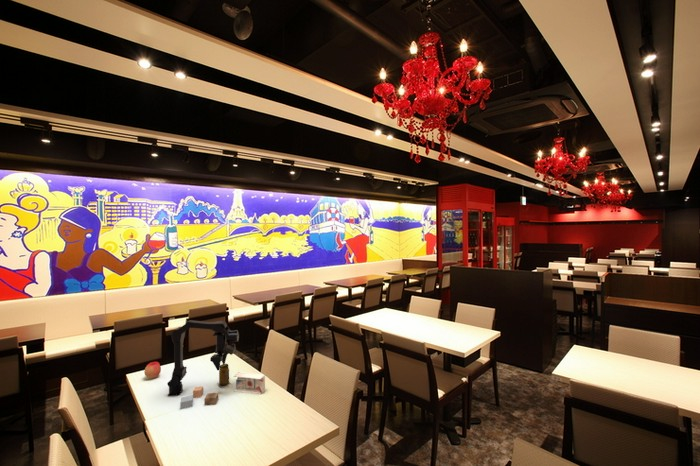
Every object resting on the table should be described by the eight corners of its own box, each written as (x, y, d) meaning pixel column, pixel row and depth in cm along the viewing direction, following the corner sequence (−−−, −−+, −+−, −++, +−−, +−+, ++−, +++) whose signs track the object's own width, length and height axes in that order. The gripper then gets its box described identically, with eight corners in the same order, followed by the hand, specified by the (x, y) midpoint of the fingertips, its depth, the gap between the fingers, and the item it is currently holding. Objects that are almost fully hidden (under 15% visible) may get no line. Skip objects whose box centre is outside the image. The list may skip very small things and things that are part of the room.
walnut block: (204, 405, 176) (204, 398, 176) (207, 400, 182) (207, 393, 182) (215, 404, 177) (215, 397, 177) (218, 399, 182) (218, 392, 183)
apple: (145, 376, 214) (145, 361, 214) (161, 373, 218) (161, 359, 218) (143, 382, 205) (143, 367, 206) (160, 379, 209) (159, 364, 210)
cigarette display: (233, 391, 192) (233, 375, 192) (238, 386, 197) (238, 372, 197) (262, 394, 187) (262, 379, 187) (266, 390, 192) (266, 374, 192)
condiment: (228, 380, 207) (227, 362, 207) (232, 384, 200) (232, 366, 200) (216, 383, 202) (216, 365, 202) (220, 388, 196) (220, 369, 196)
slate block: (180, 409, 172) (180, 402, 172) (181, 404, 177) (181, 397, 178) (192, 407, 175) (192, 399, 175) (193, 401, 180) (193, 395, 180)
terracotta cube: (193, 398, 184) (192, 390, 184) (195, 394, 188) (195, 387, 188) (201, 397, 184) (201, 390, 185) (203, 393, 189) (203, 386, 189)
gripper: (228, 347, 185) (228, 373, 185) (238, 337, 204) (238, 360, 203) (210, 347, 185) (209, 373, 184) (221, 337, 203) (221, 361, 203)
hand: (221, 367), depth 194 cm, fingers open, 9 cm apart
